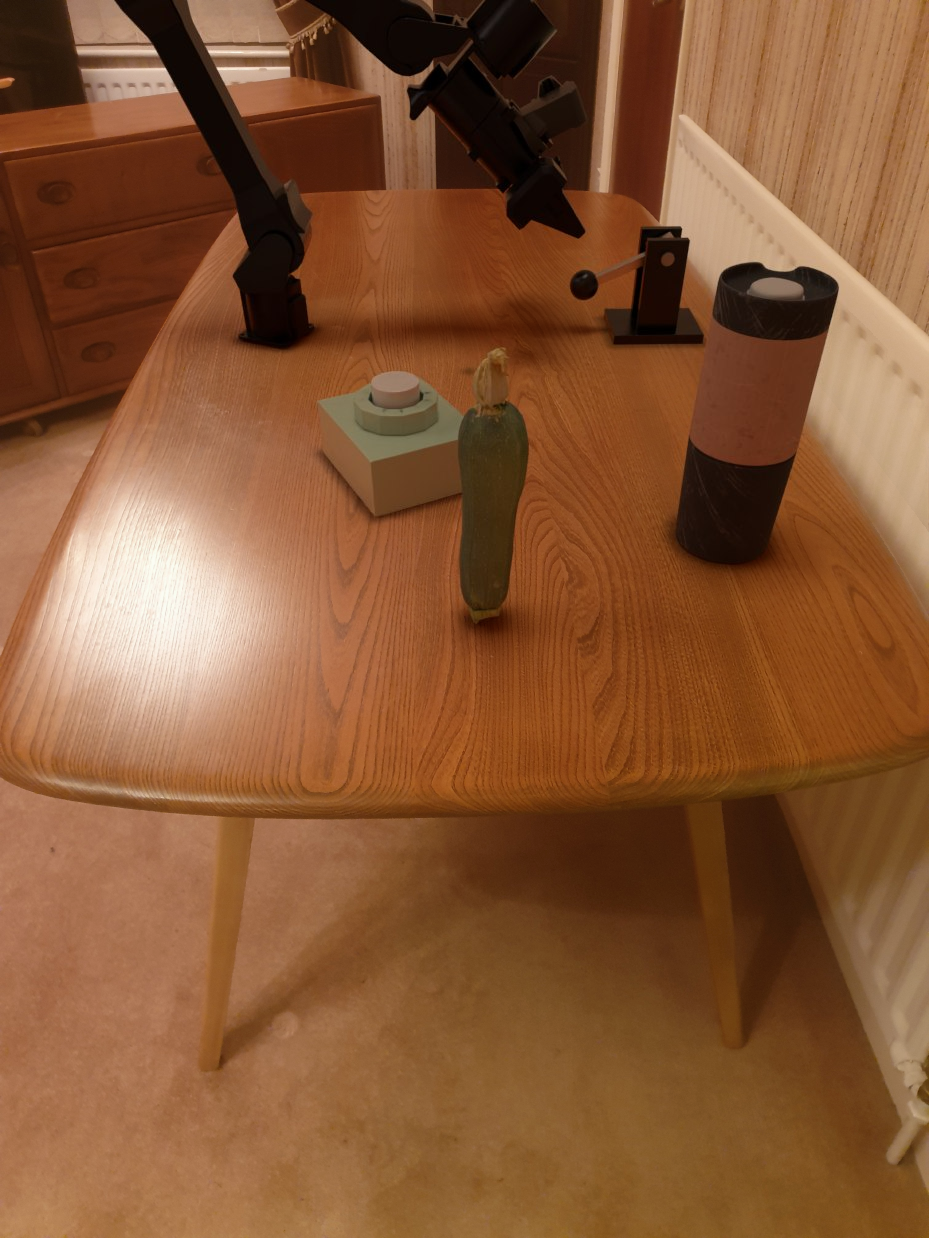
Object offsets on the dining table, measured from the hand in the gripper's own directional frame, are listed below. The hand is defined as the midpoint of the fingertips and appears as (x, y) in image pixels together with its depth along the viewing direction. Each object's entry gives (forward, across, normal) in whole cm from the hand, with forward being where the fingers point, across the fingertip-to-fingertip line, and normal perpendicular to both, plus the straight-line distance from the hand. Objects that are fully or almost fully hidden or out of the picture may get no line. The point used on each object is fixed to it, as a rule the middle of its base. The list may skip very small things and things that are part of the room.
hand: (582, 234), depth 93 cm
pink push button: (-10, -31, +16) cm, 36 cm away
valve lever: (+7, 0, 0) cm, 7 cm away
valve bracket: (+14, 0, +1) cm, 14 cm away
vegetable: (0, -50, +16) cm, 53 cm away
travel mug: (+13, -41, +3) cm, 43 cm away
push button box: (-6, -30, +21) cm, 37 cm away
